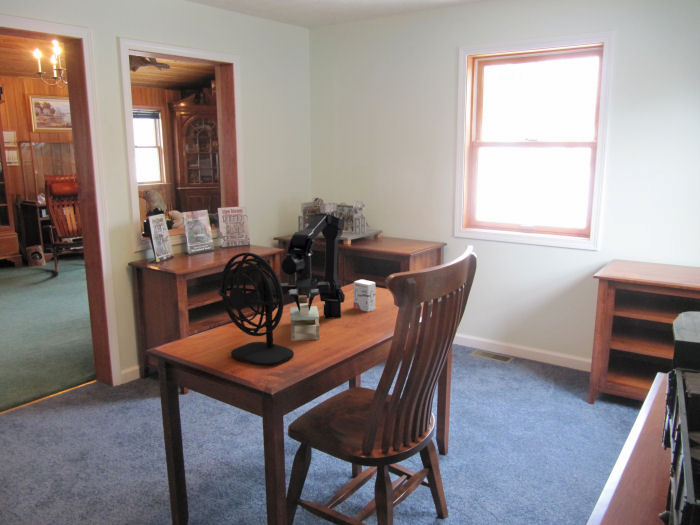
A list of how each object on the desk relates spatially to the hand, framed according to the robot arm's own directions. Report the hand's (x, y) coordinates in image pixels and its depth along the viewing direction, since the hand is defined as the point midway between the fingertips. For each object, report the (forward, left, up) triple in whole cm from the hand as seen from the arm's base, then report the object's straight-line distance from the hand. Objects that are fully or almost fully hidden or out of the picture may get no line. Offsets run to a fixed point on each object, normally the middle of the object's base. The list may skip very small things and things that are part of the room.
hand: (304, 310), depth 202 cm
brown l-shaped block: (0, -14, -3) cm, 14 cm away
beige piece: (0, -4, -9) cm, 10 cm away
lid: (0, -1, -2) cm, 2 cm away
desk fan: (+15, +20, -9) cm, 27 cm away
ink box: (-26, -29, -9) cm, 40 cm away
